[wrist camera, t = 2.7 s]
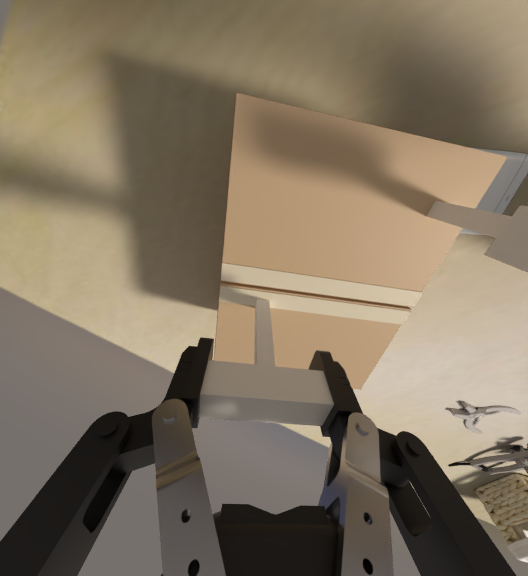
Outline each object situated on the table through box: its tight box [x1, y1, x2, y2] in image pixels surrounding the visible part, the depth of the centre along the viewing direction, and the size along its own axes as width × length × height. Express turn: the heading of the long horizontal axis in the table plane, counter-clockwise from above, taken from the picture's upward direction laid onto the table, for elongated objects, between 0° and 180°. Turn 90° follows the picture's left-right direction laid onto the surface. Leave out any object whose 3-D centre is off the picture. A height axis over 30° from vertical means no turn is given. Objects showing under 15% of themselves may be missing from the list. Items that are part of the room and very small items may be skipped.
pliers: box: [449, 401, 521, 434], centre depth 46 cm, size 10×2×15 cm
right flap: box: [199, 281, 411, 426], centre depth 16 cm, size 16×11×9 cm
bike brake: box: [448, 444, 528, 475], centre depth 55 cm, size 14×7×20 cm
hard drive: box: [460, 147, 528, 235], centre depth 23 cm, size 2×8×12 cm
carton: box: [214, 93, 528, 355], centre depth 18 cm, size 16×22×19 cm
